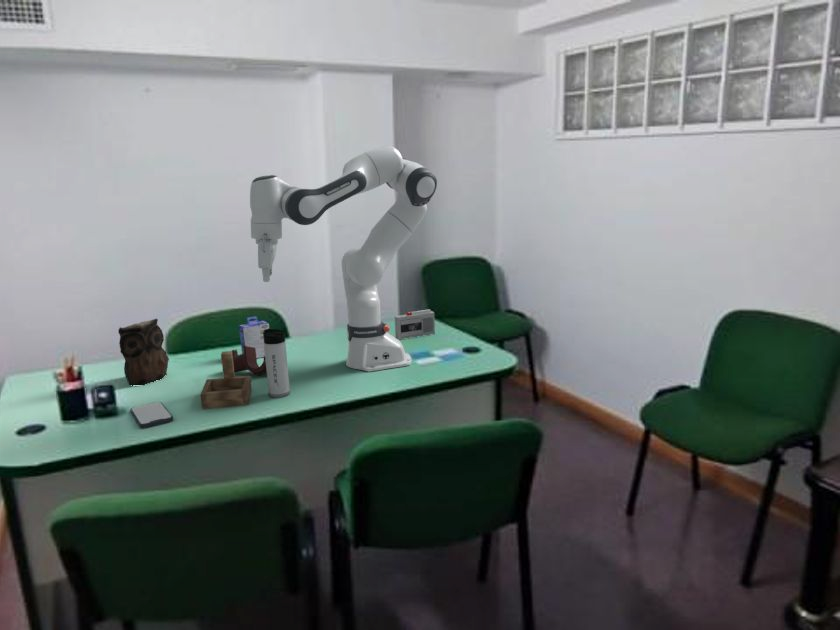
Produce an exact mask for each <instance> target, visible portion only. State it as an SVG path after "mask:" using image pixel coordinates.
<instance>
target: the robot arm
mask: <svg viewBox="0 0 840 630" xmlns="http://www.w3.org/2000/svg"><path fill="white" fill-rule="evenodd" d="M384 184H386V185H387V186H388V187H389V188H390V189H392V190H394V191H395V192H397V193H398V194H397V198H396V201H395V203H393V205H391V206H390V207H389V209H388V210H387V211H386V212H385V214H383V215H382V217H381V218H380V219H379V220H378V221H377V222H376V223H375V224H374V226H373V227H372V228H371V229H370V232H369V234H368V237H367V238H366V240H365V242H364V243H363V244H362V246H361V248H360V247H355V248H351V249H349V250H348V251H345V253H344V254H343V256H342V257H341V258H342V259H341V270H342V271H341V272H342V278H343V285H344V293H345V298H346V306H347V307H346V309H347V324H346V336H347V341H348V351H347V357H346V363H345V365H346V366H347V367H348V368H351V369H354V370H362V371H364V372H375V371H380V370H388V369H395V368H401V367H407V366H410V365H411V364H412V362H413V361H412V356H411V355H410V354H409V353H408V352H405V348H404V345H403V343H402V341H400V340H398V339H397V338H396V336H394V335H392V334H391V333H389V332H390V326H389V325H387V323H385V322H384V321H382V319H381V299H380V296H379V292H378V287H377V285H378V284H379V283H380V282H381V281H382V279H383V276H384V273H385V272H386V270H387V269H388V268H389V265H390V263H391V262H392V260H393V259H394V258H395V255H396V254H397V253H398V251H399V250H400V249H401V247H402V246H403V245H404V244H405V243H406V242H407V240H408V239H409V238H410V237H411V236H412V234H413V233H414V232H415V231H416V230H417V228H418V227H419V225H420V224H421V222H422V221H423V219H424V218H425V216H426V214H427V211H428V206H427V204H428V203H429V202H430V201H431V199H432V197H433V196H434V195H435V193H436V190H437V185H438V179H437V177H436V175H435V174H434V173H433V172H432V170H430V169H429V168H428V167H425V166H423V165H421V164H420V163H418V162H415V161H411V160H408V159H406V158H404V157H403V156H402V154H401V152H400V151H399V149H398V148H396V147H394V146H390V145H386V146H383V147H378V148H374V149H372V150H369V151H365V152H363V153H361V154H359V155H357V156H355V157H352V158H351V159H350V160H348V161H347V162H346V163H345V164H344V166H343V168H342V174H341V176H340V177H338V178H337V179H335V180H332V181H331V182H329V183H326V184H324V185H322V186H320V187H318V188H313V189H310V188H300V187H297V186H296V185H292V184H291V183H288V182H286V181H285V180H283V179H281V178H280V177H279V176H277V175H275V174H272V175H271V174H270V175H261V176H258V177H255V178H254V179H253V180H252V181H251V184H250V191H249V207H250V211H251V217H250V238H251V239H254V240H255V244H257V264H258V265H257V266H258V268H259V269H261V272H262V282H264V283H268V282H270V281H271V277H270V276H272V275H273V263H274V261H275V258H276V255H277V254H276V253H277V245H278V242H279V241H278V240H280V239H282V238H283V230H282V229H283V225H282V224H283V223H282V220H283V219H288V220H291V221H292V222H294V223H296V224H297V225H301V226H310V225H313V224H314V223H316V222H317V221H318V220H319V219H320V218H321V217H322V216H323V215H324V213H325V212H326V211H327V210H329V209H330V208H332V207H334V206H336V205H338V204H340V203H341V202H344V201H345V200H347V199H350V198H351V197H353V196H356V195H360V194H362V193H366V192H369V191H371V190H374V189H376V188H379V187H380V186H383V185H384Z"/></svg>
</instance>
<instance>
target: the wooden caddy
mask: <svg viewBox="0 0 840 630" xmlns="http://www.w3.org/2000/svg"><path fill="white" fill-rule="evenodd" d="M220 358H221V366H222V367H221V368H222V375H223V377H220V378H219V377H218V378H209V379H208V378H207V379H206V380H205V383H204V385H203V388H202V389H201V391H200V395H199V396H200V402H201V409H202V410H208V409H217V408H229V407H230V408H231V407H239V406H249V405H250V399H251V394H252V390H253V389H252V378H251V375H240V376H239V375H238V376H236V375H235V374H236V372H235V373H234V364H233V354H232V350H227V351H221V353H220Z"/></svg>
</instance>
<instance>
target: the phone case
mask: <svg viewBox="0 0 840 630" xmlns="http://www.w3.org/2000/svg"><path fill="white" fill-rule="evenodd" d="M129 411H130V414H131V416H132V417H133V419H134V420H135V422H136V424H137V425H138V427H139V429H148V428H152V427H156V426H160V425H161V426H162V425H165V424H168V423H172V422H173V421H174V417H173V415H172V414H171V412H170V411H169V410H168V409H167V408H166V407H165V405H164V403H162V402H160V401H156V402H151V403H147V404H143V405H139V406H134V407H131V408H130V410H129Z"/></svg>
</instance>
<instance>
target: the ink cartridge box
mask: <svg viewBox="0 0 840 630" xmlns="http://www.w3.org/2000/svg"><path fill="white" fill-rule="evenodd" d="M253 319H254V320H253ZM246 320H247V323H245V324H240V325H238V331H239V339H240V346H241V354H244V346H252V347H255V348H256V358H257V359H258V358H264V356H265V350H264V337H263V332H264V330H266V329H270V324H269V322H267V321H266V320H261V321H259V320H258V317H257V316H256V315H255V316H250V317H249V316H248V317H246Z"/></svg>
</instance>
